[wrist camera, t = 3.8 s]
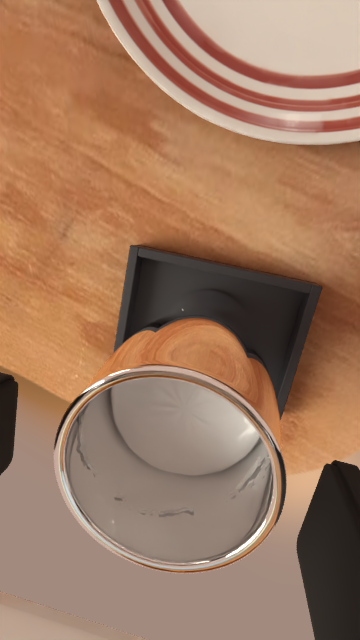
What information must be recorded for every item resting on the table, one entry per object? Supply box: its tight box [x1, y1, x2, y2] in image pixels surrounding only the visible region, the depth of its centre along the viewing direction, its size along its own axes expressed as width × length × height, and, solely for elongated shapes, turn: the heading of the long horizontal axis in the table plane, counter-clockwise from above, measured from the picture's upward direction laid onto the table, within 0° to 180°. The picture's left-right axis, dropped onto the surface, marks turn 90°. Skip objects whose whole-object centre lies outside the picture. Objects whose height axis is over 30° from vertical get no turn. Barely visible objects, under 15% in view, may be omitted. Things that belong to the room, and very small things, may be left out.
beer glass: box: [54, 290, 286, 573], centre depth 16 cm, size 7×7×15 cm
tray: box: [114, 245, 322, 420], centre depth 23 cm, size 12×10×2 cm
